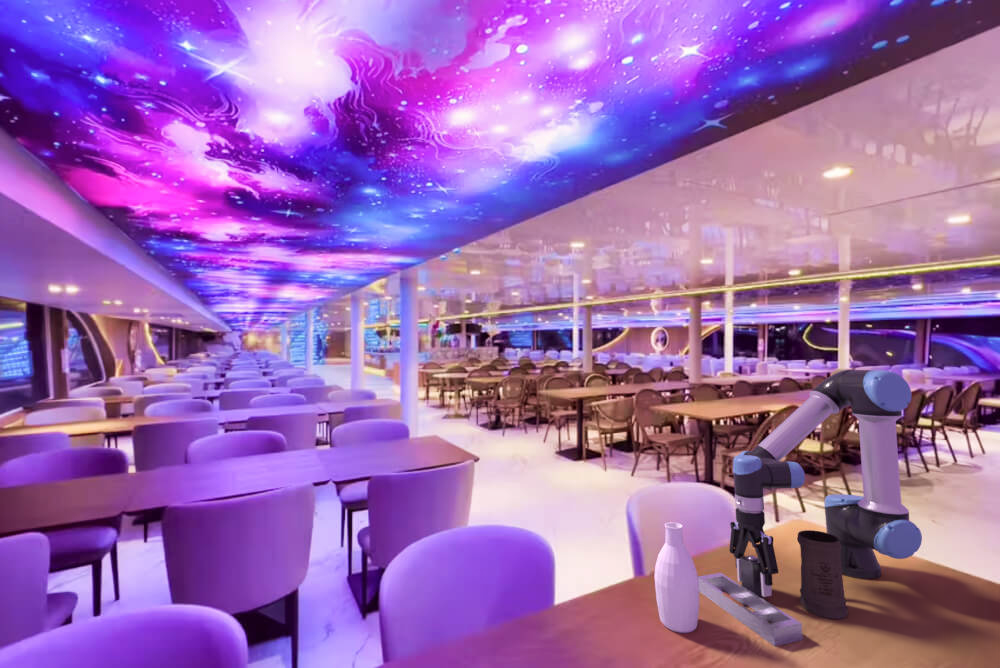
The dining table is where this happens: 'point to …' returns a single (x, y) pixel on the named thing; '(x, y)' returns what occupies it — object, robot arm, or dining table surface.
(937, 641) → the dining table surface
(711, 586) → the frame with square openings
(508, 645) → the dining table surface
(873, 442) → the robot arm
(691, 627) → the bottle
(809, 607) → the beer stein
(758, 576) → the square peg with dome
